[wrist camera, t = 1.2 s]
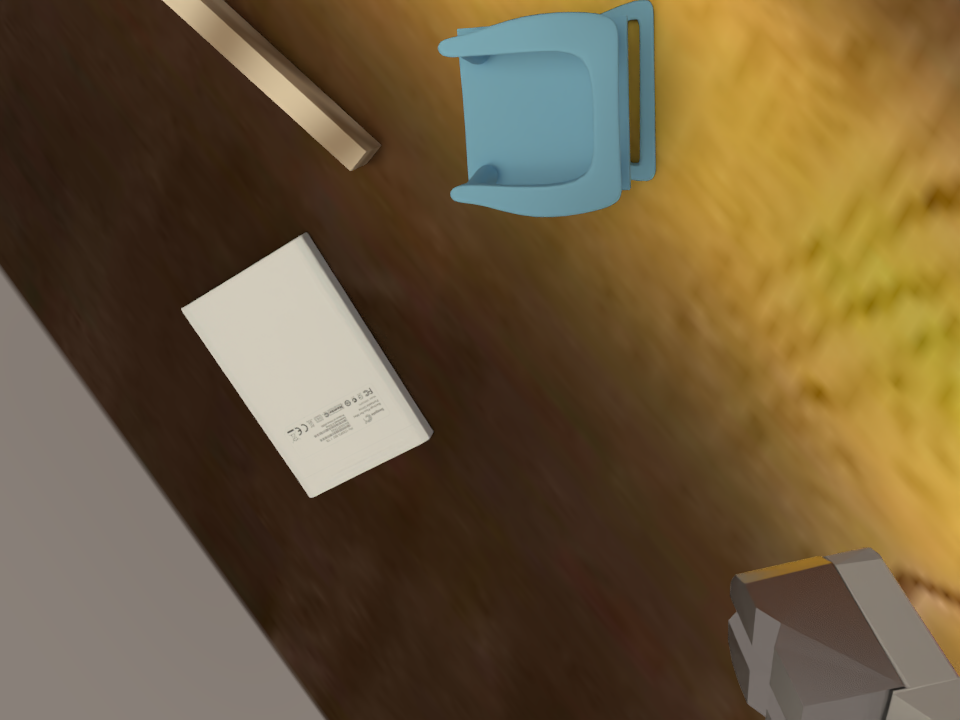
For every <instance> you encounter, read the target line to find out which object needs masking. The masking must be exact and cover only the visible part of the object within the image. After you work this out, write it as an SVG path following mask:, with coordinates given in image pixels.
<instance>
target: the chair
mask: <svg viewBox="0 0 960 720" xmlns="http://www.w3.org/2000/svg"><path fill="white" fill-rule="evenodd" d="M629 20H637V21H638V23H639V30H640V160H639V163H633V162H630V126H629V73H628V21H629ZM457 34H458V36H457V37H452V38H449V39H445V40H443V41H441V42H440V44H439V46H438V50H439V53H440V54H442V55H443V56H446V57H459V60H460V72H461V82H462V93H463V105H464V118H465V131H466V147H467V163H468V177H469V181H468V182H467V183H466V184H463V185H460V186H457V187H455V188H453V189H452V191H451V194H450V195H451V198H452V199H453V200H454V201H457V202H462V203H469V204H476V205H482V206H486V207H490V208H494V209H497V210H501V211H505V212H510V213H514V214H519V215H525V216H533V217H557V216H569V215H575V214H582V213H587V212H591V211H596V210H599V209H603V208H606V207H608V206H611V205H612V204H614V203H616V202H617V201H618V200H619V198H620V196H621V192H622V190H630V188H631V180H636V181H648V180H651V179H652V178H653V177H654V175H655V171H656V156H655V85H654V12H653V6H652V4H651V2H650V1H648V0H638V1H633V2H630V3H627V4H624V5H621V6H618V7H616V8H613V9H611V10H609V11H606V12H604V13H602V14H596V13H586V12H558V13H546V14H537V15H531V16H525V17H520V18H516V19H512V20H508V21H505V22H502V23H499V24H496V25H492V26H489V27H477V28H464V29H457Z"/></svg>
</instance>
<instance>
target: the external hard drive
mask: <svg viewBox="0 0 960 720" xmlns="http://www.w3.org/2000/svg"><path fill="white" fill-rule="evenodd" d="M181 310H182V312H183V313H184V315H185V316H186V318H187V319H188V321H189V322H190V323H191V325H192V327H193V328H194V329H195V331H196V332H197V334H198V335H199V336H200V338H201V339H202V341H203V342H204V344H205V345H206V347H207V348H208V350H209V351H210V353H211V354H212V356H213V357H214V358H215V360H216V361H217V363H218V364H219V366H220V367H221V369H222V370H223V372H224V373H225V375H226V376H227V377H228V379H229V380H230V382H231V383H232V385H233V386H234V388H235V389H236V391H237V392H238V393H239V395H240V396H241V398H242V399H243V401H244V402H245V404H246V405H247V407H248V408H249V410H250V411H251V413H252V414H253V415H254V417H255V418H256V420H257V421H258V423H259V424H260V426H261V427H262V428H263V430H264V431H265V433H266V434H267V436H268V437H269V439H270V440H271V442H272V443H273V445H274V446H275V447H276V449H277V450H278V452H279V453H280V455H281V456H282V457H283V459H284V460H285V462H286V463H287V465H288V466H289V468H290V469H291V471H292V472H293V473H294V475H295V476H296V478H297V479H298V481H299V482H300V484H301V485H302V487H303V488H304V490H305V491H306V492H307V494H308V496H309V497H310V498H312V497H315V496H317V495H319V494H321V493H323V492H325V491H327V490H329V489H331V488H333V487H335V486H337V485H339V484H341V483H343V482H345V481H347V480H349V479H351V478H353V477H355V476H357V475H359V474H361V473H363V472H365V471H367V470H369V469H371V468H373V467H375V466H377V465H379V464H381V463H383V462H386V461H387V460H389V459H392V458H394V457H396V456H398V455H400V454H402V453H404V452H406V451H408V450H410V449H412V448H414V447H416V446H418V445H420V444H422V443H424V442H425V441H427V440H428V439H430V437H431V436H432V434H433V430H432V429H431V427H430V426H429V424H428V422H427V421H426V419H425V418H424V416H423V414H422V413H421V411H420V410H419V408H418V407H417V405H416V404H415V402H414V400H413V399H412V397H411V396H410V394H409V392H408V391H407V389H406V388H405V386H404V384H403V383H402V381H401V380H400V378H399V377H398V375H397V373H396V372H395V370H394V369H393V367H392V365H391V364H390V362H389V361H388V359H387V358H386V356H385V354H384V353H383V351H382V350H381V348H380V346H379V345H378V343H377V342H376V340H375V339H374V337H373V335H372V334H371V332H370V331H369V329H368V328H367V326H366V325H365V323H364V321H363V320H362V318H361V317H360V315H359V314H358V312H357V310H356V309H355V307H354V306H353V304H352V302H351V301H350V299H349V298H348V296H347V294H346V293H345V291H344V289H343V288H342V286H341V285H340V283H339V282H338V280H337V279H336V277H335V275H334V274H333V272H332V271H331V269H330V268H329V266H328V264H327V263H326V261H325V260H324V258H323V256H322V255H321V253H320V252H319V250H318V249H317V247H316V245H315V244H314V242H313V241H312V239H311V238H310V236H309V234H308V233H307V232H306V233H304V234H302V235H300V236H299V237H297V238H295V239H294V240H292V241H291V242H289V243H287V244H286V245H284V246H282V247H281V248H279V249H278V250H276V251H274V252H273V253H271V254H269V255H268V256H266V257H265V258H263V259H261V260H260V261H258V262H257V263H255V264H253V265H252V266H250V267H248V268H247V269H245V270H244V271H242V272H240V273H239V274H237V275H235V276H234V277H232V278H231V279H229V280H227V281H226V282H224V283H223V284H221V285H219V286H218V287H216V288H214V289H213V290H211V291H209V292H208V293H206V294H205V295H203V296H201V297H200V298H198V299H196V300H195V301H193V302H191V303H190V304H188V305H187V306H185V307H183V308H181Z"/></svg>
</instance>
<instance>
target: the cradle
mask: <svg viewBox="0 0 960 720" xmlns="http://www.w3.org/2000/svg"><path fill="white" fill-rule="evenodd" d="M163 1H164V2H165V3H166V4H167V5H168V6H169V7H170V8H172V9H173V10H174V11H175V12H176V13H177V14H178V15H179V16H180V17H181V18H183V19H184V20H185V21H186V22H187V23H188V24H189V25H190V26H191V27H192V28H194V29H195V30H196V31H197V32H198V33H199V34H200V35H201V36H202V37H203V38H205V39H206V40H207V41H208V42H209V43H210V44H211V45H212V46H213V47H214V48H216V49H217V50H218V51H219V52H220V53H221V54H222V55H223V56H224V57H225V58H227V59H228V60H229V61H230V62H231V63H232V64H233V65H234V66H235V67H236V68H238V69H239V70H240V71H241V72H242V73H243V74H244V75H245V76H246V77H247V78H249V79H250V80H251V81H252V82H253V83H254V84H255V85H256V86H257V87H258V88H260V89H261V90H262V91H263V92H264V93H265V94H266V95H267V96H268V97H269V98H271V99H272V100H273V101H274V102H275V103H276V104H277V105H278V106H279V107H280V108H282V109H283V110H284V111H285V112H286V113H287V114H288V115H289V116H290V117H291V118H293V119H294V120H295V121H296V122H297V123H298V124H299V125H300V126H301V127H302V128H304V129H305V130H306V131H307V132H308V133H309V134H310V135H311V136H312V137H313V138H315V139H316V140H317V141H318V142H319V143H320V144H321V145H322V146H323V147H324V148H326V149H327V150H328V151H329V152H330V153H331V154H332V155H333V156H334V157H335V158H337V159H338V160H339V161H340V162H341V163H342V164H343V165H344V166H345V167H347V168H348V169H349V170H350V171H352V170H354V169H357V168H359V167H361V166H363V165H365V164H367V163H368V161H369V160H370V159H371V158H372V156H373V155H374V154H375V153H376V152H377V150H378V149H379V148H380V147H381V144H380V143H378V142H377V141H376V140H375V139H374V138H373V137H372V136H371V135H370V134H369V133H368V132H366V131H365V130H364V129H363V128H362V127H361V126H360V125H359V124H358V123H357V122H356V121H354V120H353V119H352V118H351V117H350V116H349V115H348V114H347V113H346V112H345V111H344V110H342V109H341V108H340V107H339V106H338V105H337V104H336V103H335V102H334V101H333V100H332V99H330V98H329V97H328V96H327V95H326V94H325V93H324V92H323V91H322V90H321V89H320V88H318V87H317V86H316V85H315V84H314V83H313V82H312V81H311V80H310V79H309V78H308V77H306V76H305V75H304V74H303V73H302V72H301V71H300V70H299V69H298V68H297V67H296V66H294V65H293V64H292V63H291V62H290V61H289V60H288V59H287V58H286V57H285V56H284V55H282V54H281V53H280V52H279V51H278V50H277V49H276V48H275V47H274V46H273V45H272V44H270V43H269V42H268V41H267V40H266V39H265V38H264V37H263V36H262V35H261V34H260V33H258V32H257V31H256V30H255V29H254V28H253V27H252V26H251V25H250V24H249V23H248V22H246V21H245V20H244V19H243V18H242V17H241V16H240V15H239V14H238V13H237V12H236V11H234V10H233V9H232V8H231V7H230V6H229V5H228V4H227V3H226V2H225V1H224V0H163Z"/></svg>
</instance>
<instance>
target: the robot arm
mask: <svg viewBox="0 0 960 720" xmlns="http://www.w3.org/2000/svg"><path fill="white" fill-rule="evenodd" d="M730 597H731V599H732V601H733V604H734V606H735V608H736V610H737V612H736V613H735V614H734V615H733V616H732V617H731V618H730V620H729V621H728V641H729V647H730V652H731V658H732V663H733V666H734V669H735V673H736V676H737V679H738V682H739V684H740V687H741V689H742V692H743V694H744V697H745V699H746V702H747V704H749V705H750V706H751V707H753V708H754V709H755V710H757V711H758V712H760V713H761V714H762V715H764V716H765V717H766V719H765V720H960V677H959V676H958V674H957V673H956V671H955V670H954V668H953V667H952V665H951V663H950V662H949V660H948V659H947V657H946V656H945V654H944V653H943V651H942V650H941V648H940V647H939V645H938V643H937V642H936V640H935V639H934V637H933V636H932V634H931V633H930V631H929V630H928V628H927V627H926V625H925V623H924V622H923V620H922V619H921V617H920V616H919V614H918V613H917V611H916V610H915V608H914V607H913V605H912V603H911V602H910V600H909V599H908V597H907V596H906V594H905V593H904V591H903V590H902V588H901V587H900V585H899V583H898V582H897V580H896V579H895V577H894V576H893V574H892V573H891V571H890V570H889V568H888V567H887V565H886V563H885V562H884V560H883V559H882V557H881V556H880V555H879V554H878V553H877V552H875V551H874V550H873V549H871V548H859V549H855V550H851V551H846V552H842V553H838V554H833V555H829V556H825V557H821V556H817V557H813V558H808V559H804V560H799V561H795V562H790V563H786V564H781V565H777V566H773V567H768V568H764V569H759V570H755V571H750V572H746V573H741V574H737V575H735V576H734V578H733V579H732V581H731V589H730Z"/></svg>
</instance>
